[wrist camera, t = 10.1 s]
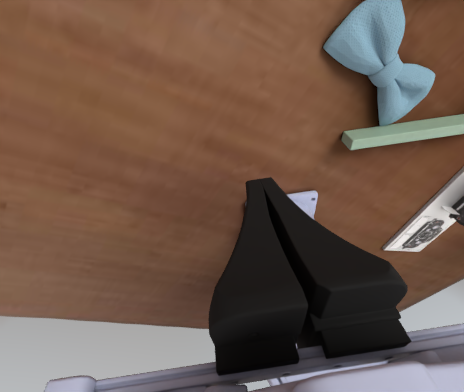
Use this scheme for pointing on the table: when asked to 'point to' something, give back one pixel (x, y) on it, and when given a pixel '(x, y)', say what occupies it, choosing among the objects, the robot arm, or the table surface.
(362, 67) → the bow tie
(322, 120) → the table surface
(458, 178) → the grey board with parts
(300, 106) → the table surface
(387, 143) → the bay
